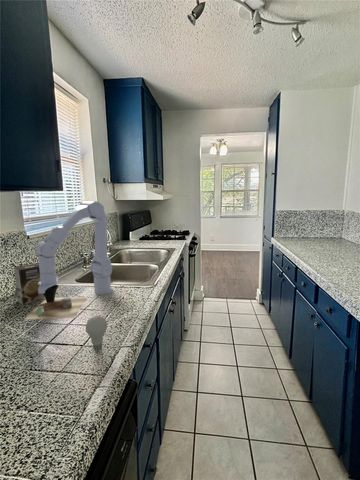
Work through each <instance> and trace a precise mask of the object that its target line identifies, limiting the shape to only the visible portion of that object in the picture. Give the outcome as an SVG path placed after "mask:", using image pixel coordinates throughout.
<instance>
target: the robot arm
mask: <svg viewBox="0 0 360 480" xmlns="http://www.w3.org/2000/svg"><path fill="white" fill-rule="evenodd" d="M86 218H89V219H90V220H92V221H93V222H94V256H93V257H92V258H91V263H90V268H89V269H90V271H91V273H93V274H92V276H93V289H94V290H93V291H94V294H96V295H107V294H112V292H113V287H111V286H112V285H111V274H112V272H113V266H112V261H111V259H110V258H109V256H108V217H107V215H106V212H105V206H104V205H103V204H102V203H100V201H88V200H87V201H86V200H83V201H81V202H80V203H79V204H78V205H77V206H76V207H75V209H74V211H73V212H72V213H71V214H70V215H69V216H68V217H67V219H66V220H65V221H64V223H62V224H61V226H56V227H53V228H52V229H51V232H50V233H49V234H48V235H47V236H46V237H44V238H43V239H42V241H40V242H38V243H37V244H36V245H35V248H34V252H35V253H36V255H38V265H39V270H40V281H41V282H38V285H40V287H39V288H38V294H43V295H44V297H45V298H44V300H45V299H46V301H47V303H48V302H53V301H54V300H55V298H56V294H57V290H58V288H59V285H58V282H59V280H60V279H59V275H57V271H56V270H57V268H56V258H55V257H56V256H55V255H57V252H58V248H59V247H60V246H61V245H62V244H63V243H64V241H65V240H66V239H67V238H68V237H69V232H70V231H71V230H72V229H73V228H74V227H75V226H76V224H78V223H79V222H80V221H81V220H82V219H86Z"/></svg>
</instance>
